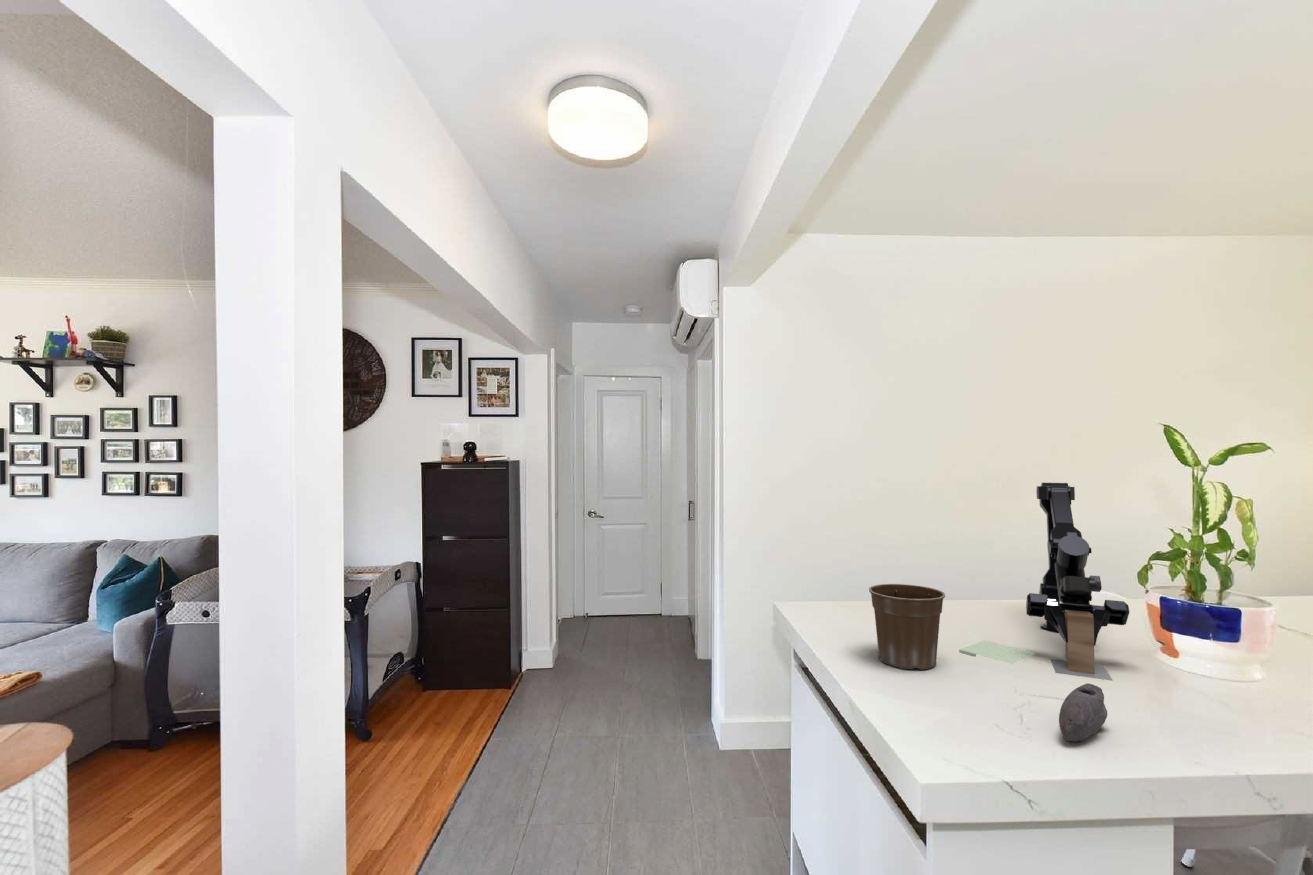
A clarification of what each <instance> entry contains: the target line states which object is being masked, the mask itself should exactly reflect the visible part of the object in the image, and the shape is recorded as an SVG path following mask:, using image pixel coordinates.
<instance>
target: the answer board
mask: <svg viewBox="0 0 1313 875" xmlns="http://www.w3.org/2000/svg"><path fill="white" fill-rule="evenodd" d="M959 653H961V654H965V655H968V656H973V657H977V655H978V656H980V657H985V658H989V659H993V660H997V661H1000V662H1004V663H1008V664H1011V665H1014V664H1016V663H1018V662H1020V661H1023V660H1025V659H1027V658H1029V657H1031V656H1033V655H1037V653H1036V652H1033V651H1030V650H1026V649H1021V648H1016V647H1013V646H1009V645H1005V644H1001V643H996V642H993V641H988V640H986V639H984V640H982V641H978V642H976V643H973V644H971V645H968V646H966V647H963V648H959Z"/></svg>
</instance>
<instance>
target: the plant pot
mask: <svg viewBox="0 0 1313 875" xmlns="http://www.w3.org/2000/svg"><path fill="white" fill-rule="evenodd" d="M868 590H869V593H870V596H871V605H872V608H873V610H874V612H873V613H874V619H875V621H874V622H875V629H876V640H877V641H876V642H877V650H878V658H879V659H880V660H881V662H882V663H884V664H886V665H888V666H891V667H894V668H899V669H903V670H905V669H906V670H913V669H915V668H917V669H918V670H920V671H921V670H930V669H932V668H934V667H935V666H936V665H937V656H938V645H939V644H938V643H939V632H940V621H941V614H942V612H943V602H944V599H945V598H946V593H945V592H943V591H941V590H940V589H937V588H933V587H929V586H924V585H923V586H922V585H916V584H915V585H913V584H903V583H885V584H883V583H881V584H875V585H872V586H870V587H868Z"/></svg>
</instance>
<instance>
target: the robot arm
mask: <svg viewBox="0 0 1313 875" xmlns="http://www.w3.org/2000/svg"><path fill="white" fill-rule="evenodd" d="M1075 491H1076V490H1075V486H1070V485H1069V483H1068V482H1041V484H1040V486H1039V485H1037V486H1036V492H1035V493H1036V500H1039V501H1038V502H1039V506H1040V508H1041V509H1042V511H1043V512H1044V514H1045V515H1046V527H1047V528H1046V531H1047V541H1046V542H1047V543H1046V544H1047V556H1048V569H1047V570H1046V572H1045V573H1044V575H1043V577H1042V582H1040V584H1039V593H1034V592H1030V593H1028V594H1027V595H1026V604H1025V610H1026V611H1025V612H1026V615H1027V616H1029V617H1035V618H1036V617H1037V618H1043V619H1044V621H1045V624H1043V625H1040V629H1042V630H1047V631H1052V632H1057V633H1058V634H1059V635H1060V637H1061V638H1062V640H1063V641H1064V643H1065V642H1066V643H1068V637H1067V631H1066V627H1065V610H1074V611H1084V612H1090V613H1091V614H1092V616H1093V617H1094V647H1095V646H1096V644H1097V640H1098V635H1099V633H1100V631H1101V629H1102V627H1108V625H1118V626H1124V625H1125V626H1126V625H1127V622H1128V619H1129V615H1130V608H1129V604H1128V603H1126V602H1125V601H1124V600H1111V599H1104V603H1103V605H1096V604H1091V603H1090V602H1092V600H1093V596H1092V592H1095V593H1100V592H1101V591H1102V588H1103V587H1102V581H1101V576H1100V575H1089V577H1086V573H1085V568H1086V566H1087V563H1088V557H1089V556H1090V554H1092V547H1090V544H1089V543H1088V542H1087V540H1086V539H1084V538H1083V534H1082V532H1081V531H1080V530H1079V529H1078V528H1076V527H1075V526H1074V525H1075V524H1074V518H1073V514H1072V501H1076V500H1075V499H1076V492H1075Z"/></svg>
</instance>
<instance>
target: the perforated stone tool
mask: <svg viewBox="0 0 1313 875" xmlns="http://www.w3.org/2000/svg"><path fill="white" fill-rule="evenodd" d="M1104 701H1105V694H1104V692H1103V689H1102V688H1101V687H1099V686H1097V685H1094V684H1092V683H1085V684H1082V685H1080V686H1078V687H1076V688H1075V689H1073V690H1072V691H1070V693H1068V695H1067V696H1066V697H1065V698H1064V700H1063V702H1062V704H1061V706H1060V710H1059V714H1058V715H1059V716H1058V724H1059V729H1060V731H1061V734H1062V736H1063V738H1064V739H1065V740H1066V741H1067V742H1081V741H1084V740H1086V739H1088V738H1090V737H1091V736H1092V735H1094V734H1096V733H1097V732H1098V731H1099V730H1100V729H1101V728H1102V726H1104V724H1105V722H1106V721H1107V718H1108V709H1107V707H1106V704H1105V702H1104Z"/></svg>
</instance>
